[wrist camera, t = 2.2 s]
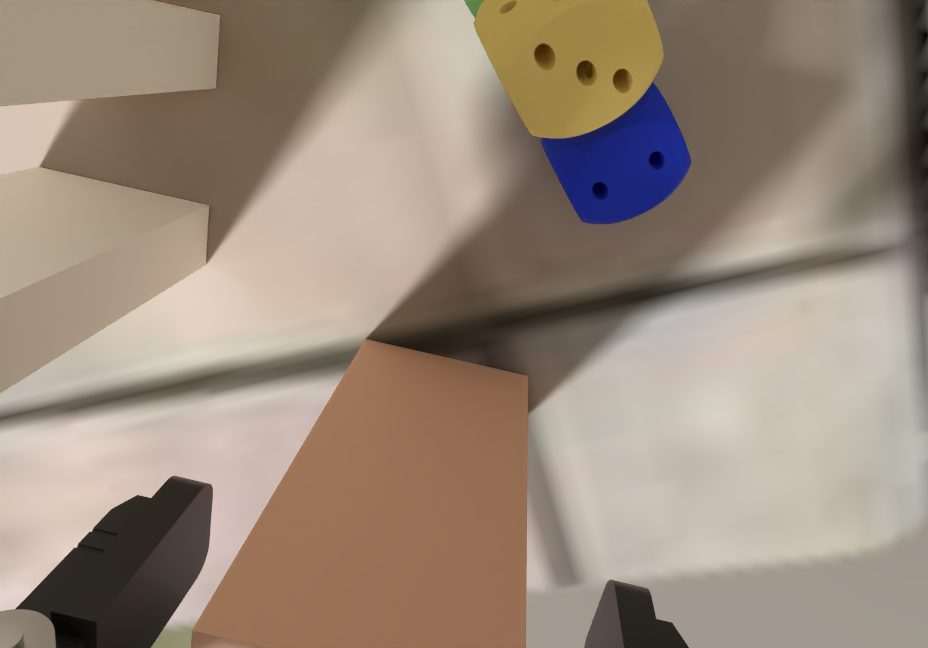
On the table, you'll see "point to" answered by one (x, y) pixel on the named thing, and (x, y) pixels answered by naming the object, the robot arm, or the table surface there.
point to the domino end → (391, 518)
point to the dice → (589, 97)
